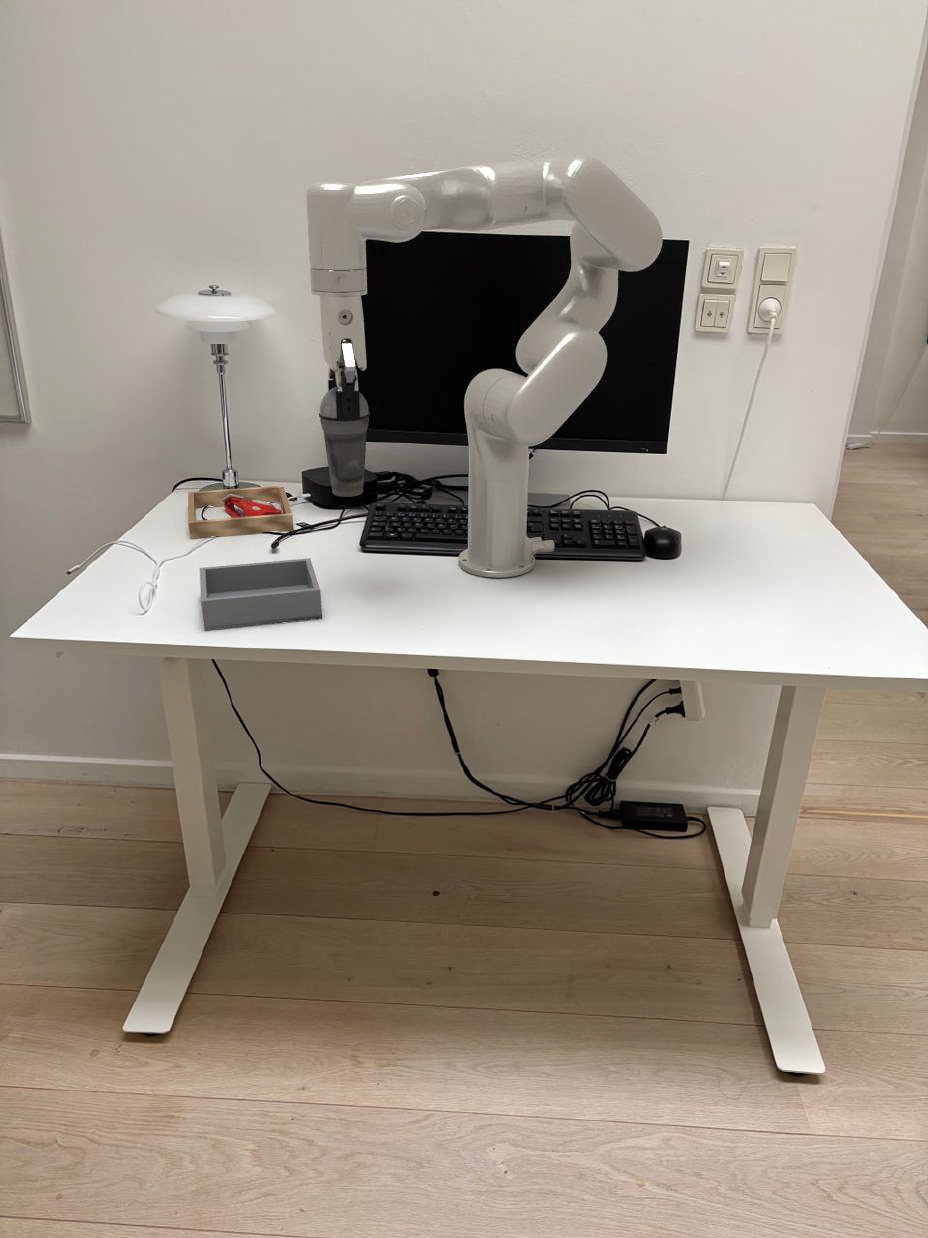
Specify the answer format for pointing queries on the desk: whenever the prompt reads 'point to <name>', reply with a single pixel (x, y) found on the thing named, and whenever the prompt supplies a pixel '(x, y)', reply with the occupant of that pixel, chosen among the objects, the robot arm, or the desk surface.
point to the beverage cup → (344, 446)
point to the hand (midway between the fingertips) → (344, 412)
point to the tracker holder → (248, 507)
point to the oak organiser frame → (240, 523)
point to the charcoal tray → (259, 594)
